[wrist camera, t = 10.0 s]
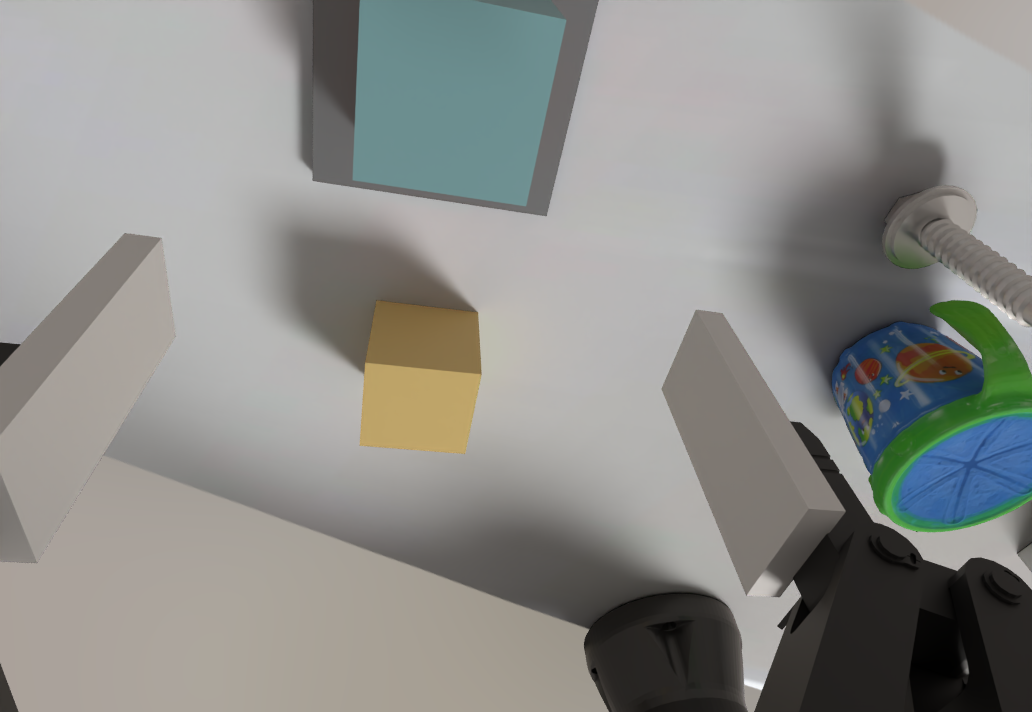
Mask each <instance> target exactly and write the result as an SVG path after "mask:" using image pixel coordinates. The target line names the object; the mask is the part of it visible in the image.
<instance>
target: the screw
mask: <svg viewBox="0 0 1032 712" xmlns="http://www.w3.org/2000/svg"><path fill="white" fill-rule="evenodd" d="M976 214H977V207H976V203H975V200H974V199H973V197H972V196H971V195H970V194H969V193H968V192H966V191H965V190H963V189H961V188H959V187H956V186H950V185H943V186H936V187H932V188H929V189H926V190H924V191H922V192H920V193H917V194H913V195H909V196H905V197H902V198H899V199H898V201H897V202H896V204H895V205H894V207H893V208H892V209H891V211H890V212H889V214H888V215H887V217H886V218H885V220H884V221H885V222H886V224H887V225H886V227H885V230H884V233H883V238H882V247H883V251H884V253H885V255H886V257H887V258H888V259H889V260H890V261H891V262H892V263H893V264H895V265H897V266H899V267H901V268H907V269H918V268H922V267H927V266H929V265H932V264H935V263H937V262H941V263H943V264H944V266H945V267H947V268H948V269H950V270H951V271H952V272H953V273H954V274H956V275H958V277H959V278H960V279H962V280H964V281H965V282H966V283H967V284H968V285H969V286H972V287H973V288H974V290H975V291H977V292H979V293H981V295H982V296H983V297H984V298H986V299H989V301H990V302H991V303H992V304H993V305H995V306H998V308H999V309H1000V310H1001V311H1002V312H1004V313H1007V315H1008V317H1009V318H1011V319H1013V320H1017V322H1018V323H1019V324H1020V325H1022V326H1025V327H1032V276H1029V275H1026V273H1025V271H1024V270H1022V269H1017V266H1016V265H1015V264H1013V263H1008V260H1007V259H1006V258H1005V257H1000V255H999V253H998V252H996V251H992V250H991V248H990V247H989V246H987V245H984V244H983V242H982V241H980V240H976V238H975V237H974V236H973V235H970V232H971V230H972V228H973V226H974V223H975V220H976Z"/></svg>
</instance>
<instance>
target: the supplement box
mask: <svg viewBox="0 0 1032 712" xmlns="http://www.w3.org/2000/svg"><path fill="white" fill-rule="evenodd" d="M1018 556H1019V557H1020V558H1021V560H1022V561H1023V562H1024V563H1025V565H1026V566H1027V567H1028V568H1029V570H1030V571H1031V572H1032V543H1031V544H1030V545H1029V546H1027V547H1026V548H1025V549H1023V550H1022V551H1021V552H1019V553H1018Z"/></svg>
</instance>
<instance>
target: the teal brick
mask: <svg viewBox="0 0 1032 712" xmlns="http://www.w3.org/2000/svg"><path fill="white" fill-rule="evenodd" d="M565 24H566V19H565V17H564V16H563V15H562V13H561V12H560V11H559V10H558V8H557V7H556V6H555V5H554V3H553V2H552V1H551V0H360V9H359V33H358V58H357V82H356V107H355V131H354V156H353V180H354V181H361V182H368V183H374V184H381V185H388V186H394V187H401V188H407V189H414V190H421V191H427V192H434V193H441V194H447V195H454V196H460V197H467V198H474V199H480V200H487V201H494V202H500V203H507V204H514V205H520V206H526V205H527V200H528V195H529V191H530V186H531V182H532V177H533V172H534V168H535V163H536V158H537V154H538V149H539V145H540V140H541V135H542V131H543V126H544V121H545V117H546V112H547V108H548V103H549V98H550V94H551V89H552V84H553V80H554V75H555V71H556V66H557V61H558V57H559V52H560V48H561V43H562V38H563V34H564V29H565Z"/></svg>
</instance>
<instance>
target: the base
mask: <svg viewBox="0 0 1032 712" xmlns="http://www.w3.org/2000/svg"><path fill="white" fill-rule="evenodd" d="M551 1H552V2H553V3H554V5H555V6H556V7H557V8H558V10H559V11H560V12H561V13H562V15H563V16H564V17H565V19H566V24H565V29H564V34H563V38H562V43H561V48H560V52H559V57H558V61H557V66H556V71H555V75H554V80H553V84H552V89H551V94H550V98H549V103H548V108H547V112H546V117H545V121H544V126H543V131H542V135H541V140H540V145H539V149H538V154H537V158H536V163H535V168H534V172H533V177H532V182H531V186H530V191H529V195H528V200H527V205H526V206H520V205H514V204H507V203H500V202H494V201H487V200H480V199H474V198H467V197H460V196H454V195H447V194H441V193H434V192H427V191H421V190H414V189H407V188H401V187H394V186H388V185H381V184H374V183H368V182H361V181H354V180H353V156H354V131H355V107H356V82H357V58H358V33H359V9H360V0H313V181H317V182H323V183H330V184H337V185H343V186H350V187H356V188H363V189H370V190H376V191H383V192H390V193H396V194H403V195H409V196H416V197H423V198H429V199H436V200H443V201H449V202H456V203H462V204H469V205H476V206H482V207H489V208H496V209H502V210H509V211H515V212H522V213H529V214H535V215H542V216H547V212H548V208H549V204H550V200H551V195H552V191H553V187H554V183H555V179H556V175H557V171H558V166H559V162H560V158H561V154H562V150H563V146H564V142H565V137H566V133H567V129H568V125H569V121H570V117H571V113H572V109H573V104H574V100H575V96H576V92H577V88H578V84H579V80H580V75H581V71H582V67H583V63H584V59H585V55H586V51H587V46H588V42H589V38H590V34H591V30H592V26H593V22H594V17H595V13H596V9H597V5H598V1H599V0H551Z"/></svg>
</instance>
